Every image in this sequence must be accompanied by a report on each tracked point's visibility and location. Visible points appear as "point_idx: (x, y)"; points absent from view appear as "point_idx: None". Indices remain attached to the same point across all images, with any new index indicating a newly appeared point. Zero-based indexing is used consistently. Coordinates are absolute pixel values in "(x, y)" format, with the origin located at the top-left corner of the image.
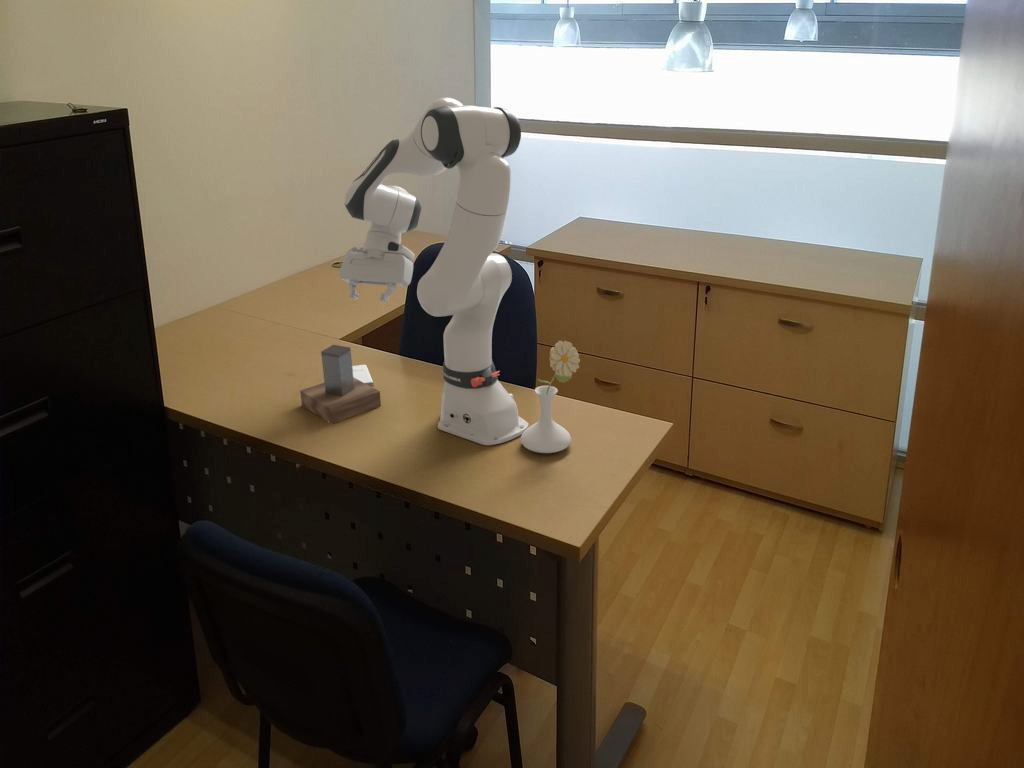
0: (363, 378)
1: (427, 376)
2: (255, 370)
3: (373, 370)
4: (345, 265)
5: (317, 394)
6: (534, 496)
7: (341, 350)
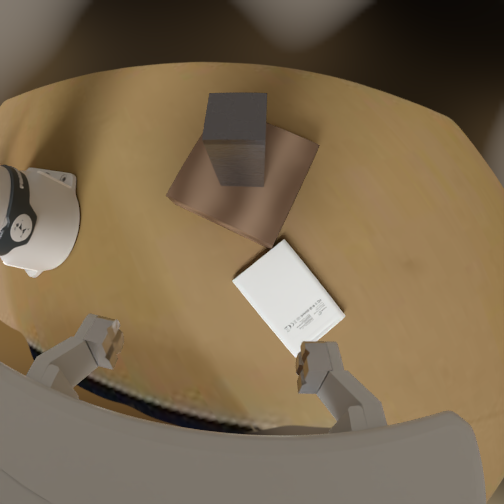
0: (261, 289)
1: (155, 354)
2: (461, 258)
3: (273, 349)
4: (462, 488)
5: (277, 140)
6: (10, 123)
7: (216, 115)
